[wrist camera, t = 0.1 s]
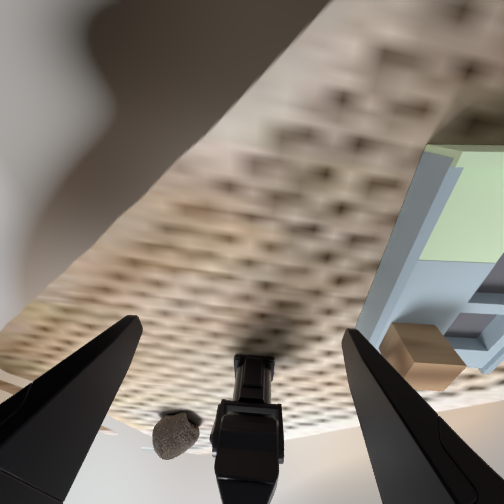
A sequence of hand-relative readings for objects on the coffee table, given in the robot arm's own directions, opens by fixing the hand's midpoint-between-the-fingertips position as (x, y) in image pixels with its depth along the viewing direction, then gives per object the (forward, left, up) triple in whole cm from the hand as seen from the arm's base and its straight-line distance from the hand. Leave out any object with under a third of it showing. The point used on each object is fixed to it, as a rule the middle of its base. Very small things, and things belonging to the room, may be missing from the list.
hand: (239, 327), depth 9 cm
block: (-16, -19, -13) cm, 28 cm away
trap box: (-8, -23, -15) cm, 28 cm away
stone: (-52, +17, -15) cm, 57 cm away
